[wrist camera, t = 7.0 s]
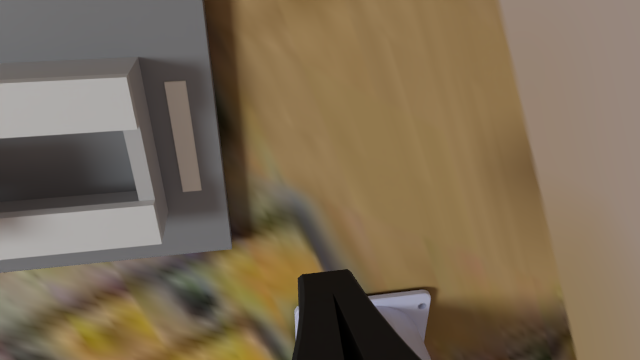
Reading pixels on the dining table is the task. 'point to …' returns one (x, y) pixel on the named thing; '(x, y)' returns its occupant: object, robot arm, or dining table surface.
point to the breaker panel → (107, 133)
